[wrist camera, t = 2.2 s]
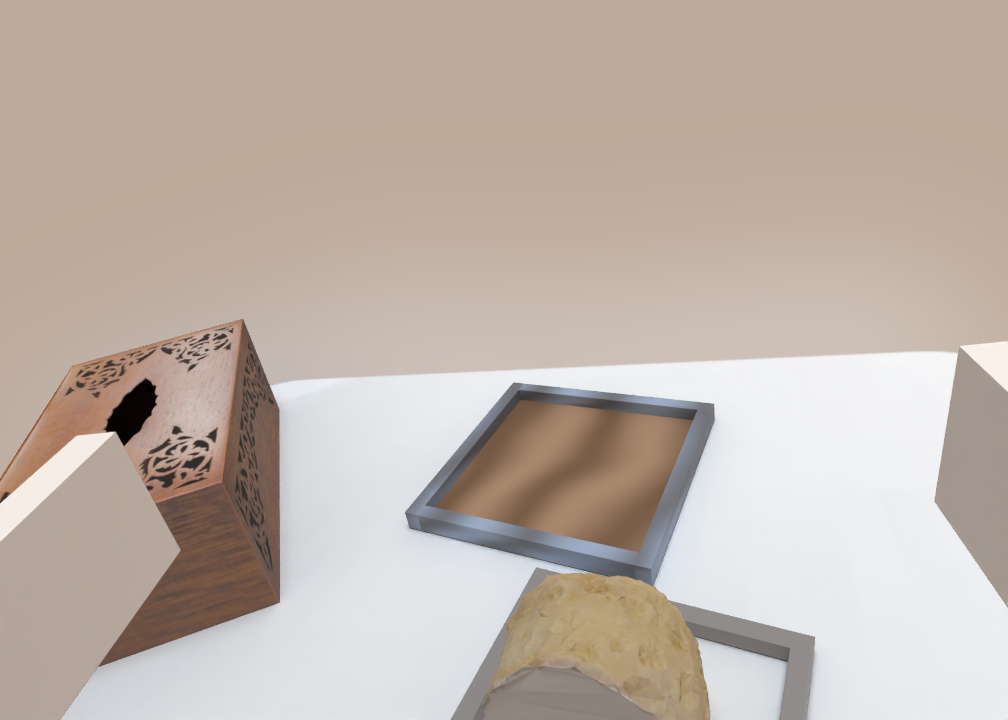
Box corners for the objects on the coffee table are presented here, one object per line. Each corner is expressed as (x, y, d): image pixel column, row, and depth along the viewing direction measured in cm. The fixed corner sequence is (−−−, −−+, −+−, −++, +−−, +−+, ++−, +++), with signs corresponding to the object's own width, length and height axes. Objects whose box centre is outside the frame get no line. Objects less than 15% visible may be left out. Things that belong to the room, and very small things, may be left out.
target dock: (410, 527, 46) (404, 512, 45) (516, 396, 59) (513, 382, 58) (652, 586, 38) (650, 569, 37) (714, 419, 51) (714, 403, 50)
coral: (400, 769, 24) (490, 515, 29) (512, 805, 31) (568, 596, 36) (656, 877, 19) (711, 551, 24) (720, 892, 26) (752, 636, 31)
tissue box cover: (281, 605, 42) (222, 482, 37) (37, 692, 39) (-60, 571, 35) (279, 411, 64) (242, 318, 60) (124, 458, 62) (72, 365, 57)
